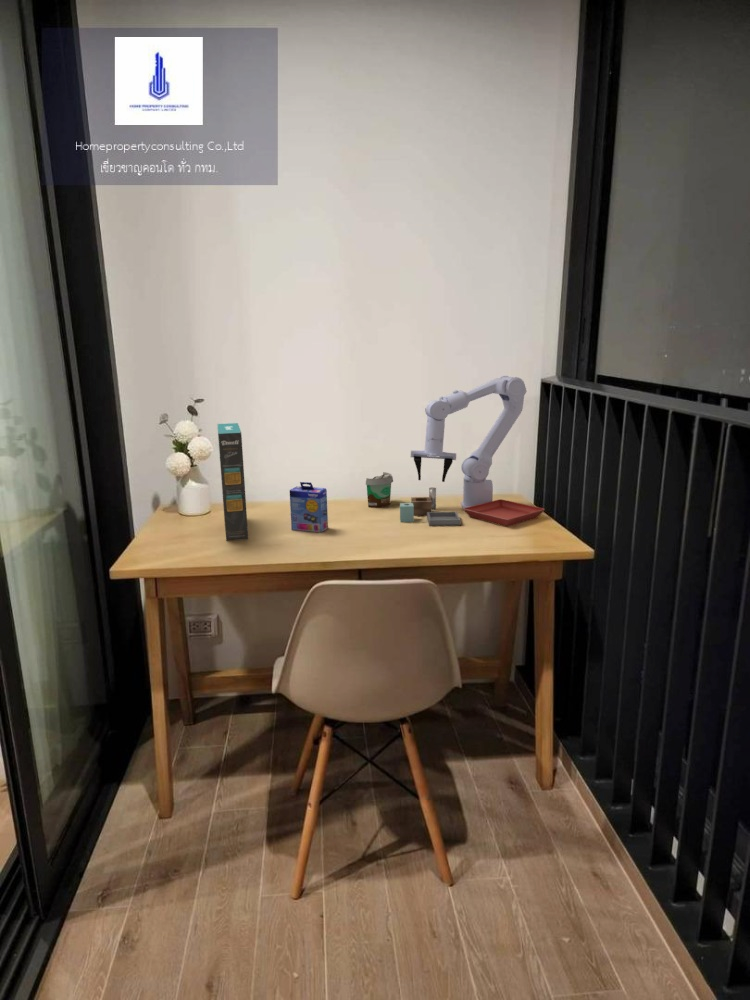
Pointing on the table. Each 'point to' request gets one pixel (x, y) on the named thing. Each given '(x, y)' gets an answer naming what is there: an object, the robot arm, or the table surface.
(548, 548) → the table surface
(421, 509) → the walnut block
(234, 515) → the cake mix box
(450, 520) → the tray
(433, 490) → the steel pin
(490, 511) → the plant saucer
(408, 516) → the teal block
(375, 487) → the food container
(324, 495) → the ink cartridge box
